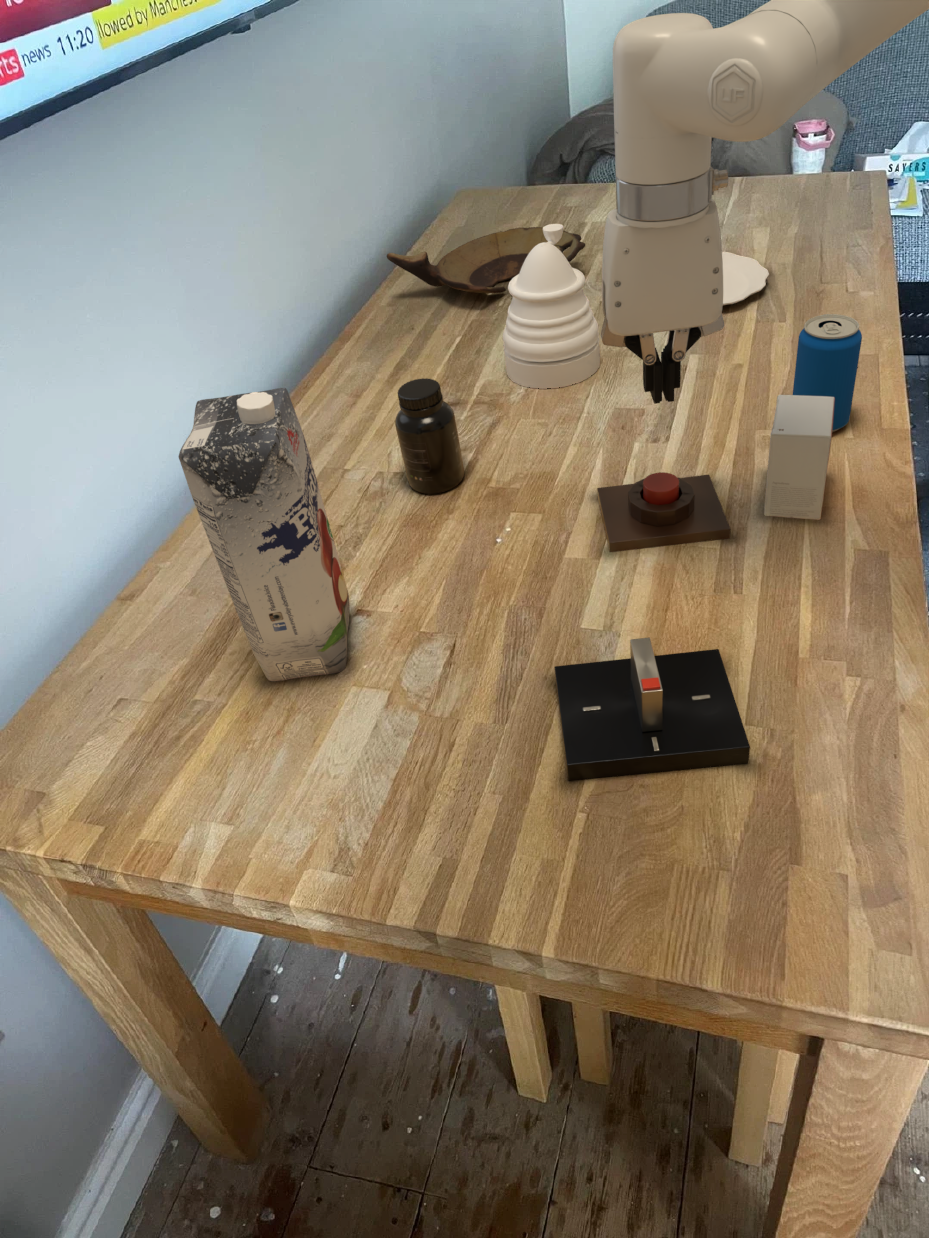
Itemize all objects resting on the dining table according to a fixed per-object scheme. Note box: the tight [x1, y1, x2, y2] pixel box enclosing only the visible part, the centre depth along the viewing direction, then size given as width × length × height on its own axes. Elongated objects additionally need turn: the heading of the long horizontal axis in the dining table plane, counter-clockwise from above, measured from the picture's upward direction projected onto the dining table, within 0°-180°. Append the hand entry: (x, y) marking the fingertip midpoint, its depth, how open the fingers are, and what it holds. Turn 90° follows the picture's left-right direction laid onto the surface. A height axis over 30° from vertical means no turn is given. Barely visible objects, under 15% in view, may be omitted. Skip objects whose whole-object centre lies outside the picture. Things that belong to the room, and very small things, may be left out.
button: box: [643, 471, 679, 505], centre depth 96 cm, size 4×4×2 cm
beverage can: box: [792, 313, 863, 433], centre depth 105 cm, size 6×6×12 cm
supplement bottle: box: [394, 377, 465, 495], centre depth 107 cm, size 7×7×12 cm
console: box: [554, 648, 751, 782], centre depth 77 cm, size 14×11×3 cm
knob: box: [629, 637, 663, 732], centre depth 75 cm, size 6×2×5 cm, turn 1°
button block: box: [596, 474, 731, 553], centre depth 97 cm, size 12×10×4 cm
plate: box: [722, 251, 770, 307], centre depth 141 cm, size 21×21×2 cm
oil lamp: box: [386, 226, 586, 294], centre depth 151 cm, size 22×30×8 cm
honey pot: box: [502, 223, 601, 390], centre depth 123 cm, size 13×13×18 cm
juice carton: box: [178, 387, 350, 682], centre depth 82 cm, size 9×10×27 cm
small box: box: [763, 394, 835, 521], centre depth 95 cm, size 8×6×10 cm
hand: (661, 395), depth 89 cm, fingers closed
